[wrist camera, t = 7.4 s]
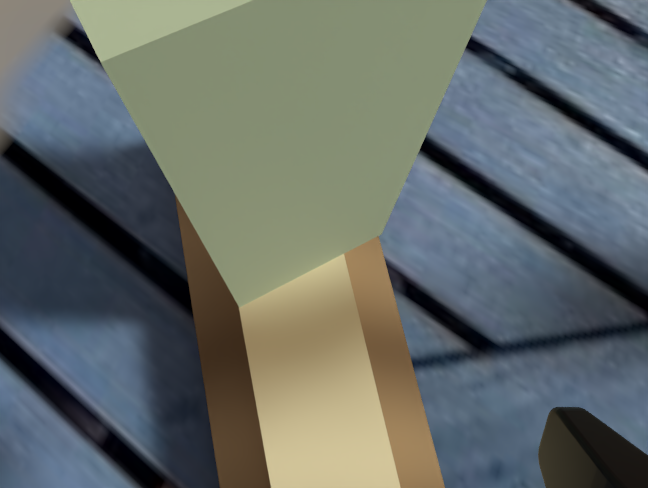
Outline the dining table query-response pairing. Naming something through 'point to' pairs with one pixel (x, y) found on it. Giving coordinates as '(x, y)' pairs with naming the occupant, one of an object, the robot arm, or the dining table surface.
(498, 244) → the dining table surface
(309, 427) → the birch ridge
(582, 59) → the dining table surface
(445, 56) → the sage post
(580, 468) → the robot arm
